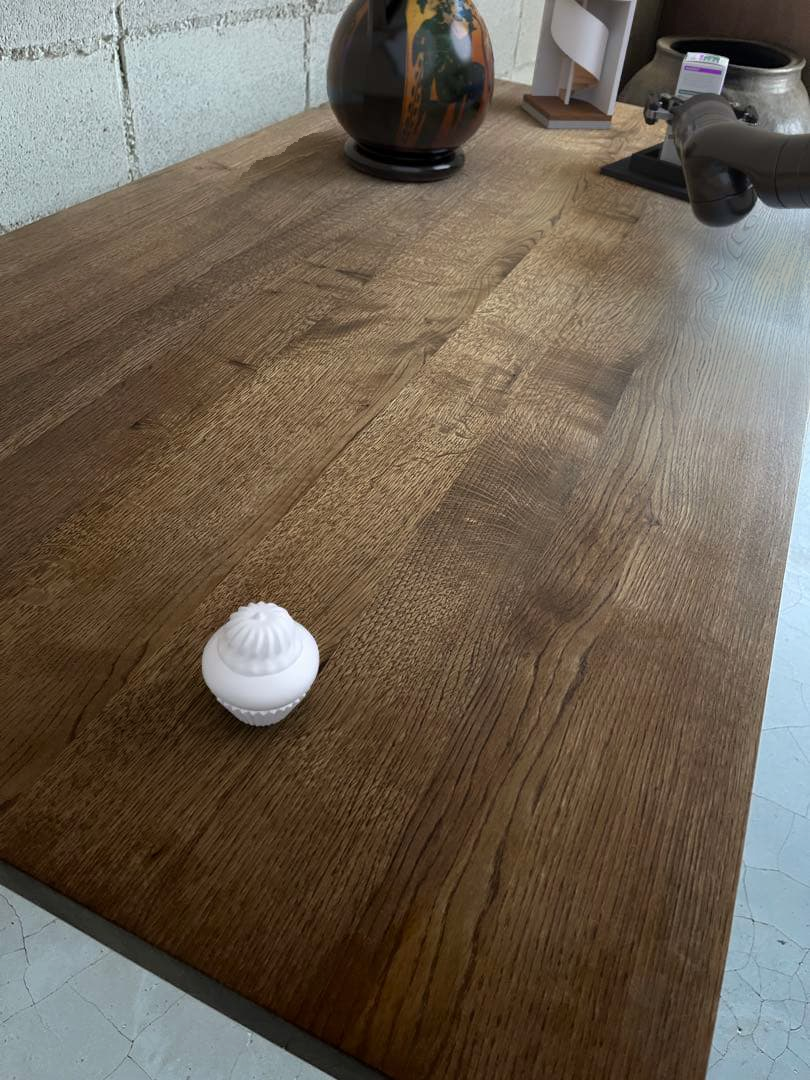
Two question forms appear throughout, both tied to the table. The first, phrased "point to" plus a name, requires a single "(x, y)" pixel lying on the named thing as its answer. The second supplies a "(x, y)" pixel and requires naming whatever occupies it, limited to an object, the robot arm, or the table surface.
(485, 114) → the amphora vase
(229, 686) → the muffin
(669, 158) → the syrup box
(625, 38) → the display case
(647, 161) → the dock pad
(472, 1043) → the table surface
